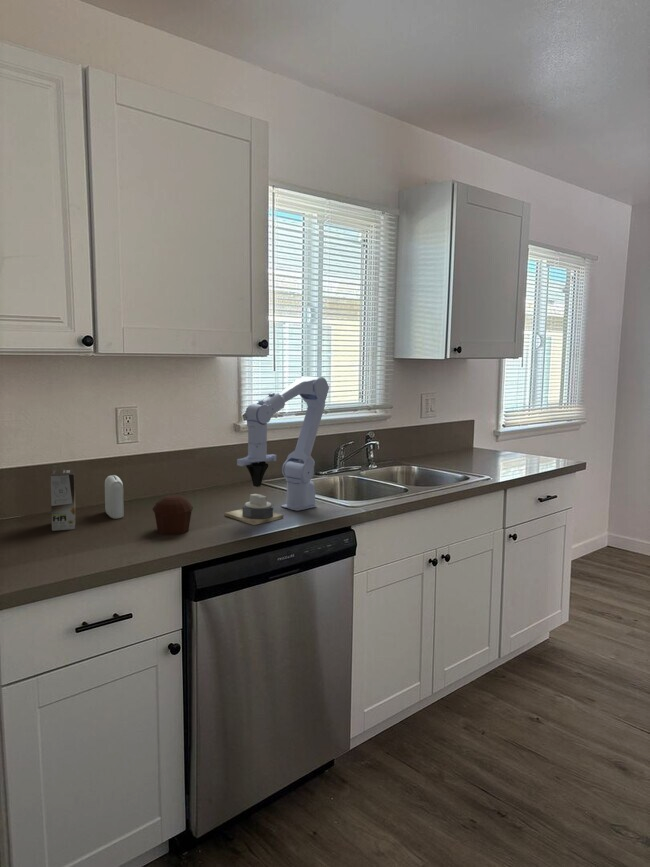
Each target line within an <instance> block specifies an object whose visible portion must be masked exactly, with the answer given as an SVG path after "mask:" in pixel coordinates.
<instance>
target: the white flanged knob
mask: <svg viewBox="0 0 650 867" xmlns="http://www.w3.org/2000/svg"><path fill="white" fill-rule="evenodd" d="M267 497H268V496H265V495H263V494H259V493H252V494H249V501H246V502H245V503H244V504H245V506H246V507H247V508H252V509H265V508H269V507H271V504H272V503H271V502H269V501H268V500H267V499H268V498H267Z"/></svg>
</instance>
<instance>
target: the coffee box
mask: <svg viewBox="0 0 650 867" xmlns="http://www.w3.org/2000/svg"><path fill="white" fill-rule="evenodd" d="M49 476H50V478H49V479H50V507H51V508H50V512H51V531H54V532H55V531H66V530H67V531H68V530H69V531H70V530H75V528H76V486H75V485H76V481H75V480H76V479H75V469H74V468H58V469H51V471H50V474H49Z"/></svg>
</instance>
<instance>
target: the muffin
mask: <svg viewBox="0 0 650 867" xmlns="http://www.w3.org/2000/svg"><path fill="white" fill-rule="evenodd" d="M193 508H194V506H192V504H191V503H190V502H189V500H188V499H187V498H185V497H184V496H182V495H179V494H169V495H165V496H163V497H161V498H160V499H159V500H157V502H156V503H155V505H154V506H153V507H152V510H153V512H154V517H155V523H156V529H157V533H158V534H162V535H164V536H165V535H167V536H169V535H172V536H173V535H174V536H175V535H181V534H182V535H183V534H185V533H186V532H189V530H190V524H191V518H192V517H191V516H192V511H193Z"/></svg>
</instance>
